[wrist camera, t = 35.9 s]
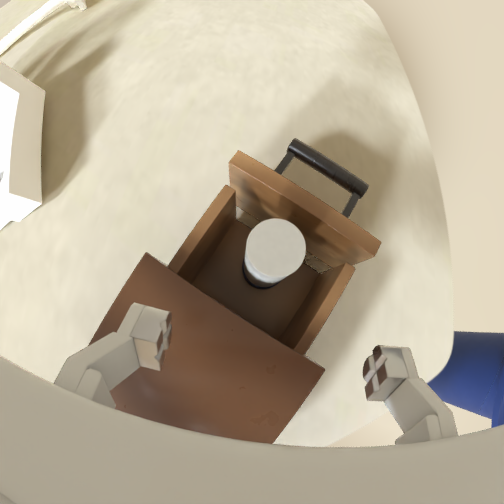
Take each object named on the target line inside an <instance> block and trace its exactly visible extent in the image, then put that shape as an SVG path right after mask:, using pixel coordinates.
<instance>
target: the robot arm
mask: <svg viewBox="0 0 504 504" xmlns="http://www.w3.org/2000/svg"><path fill="white" fill-rule="evenodd" d="M171 319H172V315H171V312H169V311H165V310H161V309H157V308H154V307H150V306H146V305H142V304H139V303H135V302H134V303H133V304H132V305H131V307H130V308H129V310H128V312H127V314H126V316H125V318H124V320H123V321H122V323H121V325H120V327H119V329H118V331H117V333H116V332H112V333H110V334H109V335H107V336H105V337H103V338H102V339H100V340H98V341H96V342H95V343H93V344H91V345H89V346H88V347H86V348H84V349H82V350H81V351H79V352H77V353H75V354H74V355H72V356H70V357H69V358H67V360H66V362H65V363H64V365H63V367H62V369H61V371H60V372H59V374H58V376H57V378H56V380H55V382H54V384H53V383H51V382H49V381H47V380H45V379H43V378H41V377H39V376H37V375H35V374H33V373H31V372H29V371H27V370H25V369H23V368H22V367H20V366H18V365H16V364H14V363H13V362H11V361H9V360H8V359H6V358H4V357H3V356H1V355H0V504H504V424H503V425H500V426H497V427H493V428H489V429H486V430H482V431H478V432H473V433H469V434H464V435H460V436H458V434H457V429H456V425H455V421H454V417H453V413H452V411H451V410H450V409H449V408H448V407H447V406H446V405H445V403H444V402H443V401H442V400H441V399H440V398H439V397H438V396H437V395H436V394H435V392H434V391H433V390H432V389H431V388H430V387H429V386H428V385H427V384H426V383H425V382H424V380H423V379H422V378H419V377H418V373H417V370H416V366H415V363H414V359H413V356H412V353H411V350H410V349H409V348H408V347H397V346H382V345H378V346H376V347H375V348H374V349H373V355H371V356H369V357H368V358H367V359H366V361H365V363H364V366H363V378H364V379H365V381H366V382H367V385H366V386H365V392H366V398H367V401H384V403H385V405H386V406H387V408H388V409H389V411H390V412H391V414H392V415H393V417H394V418H395V420H396V421H397V423H398V424H399V426H400V427H401V429H402V431H403V432H404V434H403V435H402V436H400V437H399V438H397V439H396V441H395V445H388V446H374V447H306V446H290V445H278V444H268V443H259V442H251V441H244V440H237V439H231V438H225V437H219V436H214V435H209V434H204V433H199V432H194V431H190V430H185V429H181V428H177V427H173V426H169V425H165V424H162V423H158V422H154V421H151V420H147V419H144V418H141V417H138V416H134V415H131V414H128V413H125V412H122V411H119V410H116V409H115V407H116V404H115V402H114V400H113V398H112V396H111V394H110V392H109V391H110V390H112V389H113V388H114V387H115V386H117V385H118V384H119V383H121V382H122V381H123V380H124V379H126V378H127V377H128V376H129V375H131V374H132V373H133V372H134V371H136V370H137V369H138V368H139V367H140V366H142V367H146V368H150V369H154V370H158V371H160V370H161V368H162V365H163V362H164V359H165V352H164V351H165V350H167V349H168V348H169V345H170V342H171V337H172V325H171V324H170V322H171Z"/></svg>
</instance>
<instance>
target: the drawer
mask: <svg viewBox="0 0 504 504" xmlns="http://www.w3.org/2000/svg"><path fill="white" fill-rule="evenodd" d="M294 157H295V158H297V159H298V160H300V161H302V162H303V163H305V164H307V165H308V166H310V167H311V168H313V169H315V170H316V171H318V172H319V173H321V174H323V175H324V176H326V177H327V178H329V179H330V180H332V181H333V182H335V183H336V184H338V185H339V186H341V187H342V188H344V189H345V190H347V191H348V192H350V193H351V194H352V195H351V196H350V198H349V200H348V202H347V203H346V205H345V207H344V209H343V211H342V212H341V213H339V212H338V211H336V210H335V209H333V208H332V207H330V206H329V205H327V204H326V203H324V202H323V201H321V200H320V199H318V198H317V197H315V196H314V195H312V194H310V193H309V192H307V191H306V190H304V189H303V188H301V187H299V186H298V185H296V184H295V183H293V182H291V181H290V180H288V179H287V178H285V177H283V176H282V174H283V173H284V171H285V170H286V169H287V167H288V166H289V164H290V163H291V162H292V160H293V159H294ZM229 178H230V187H229V186H228V185H225V186H224V187H223V189H222V190H221V191H220V193H219V194H218V196H217V197H216V198H215V200H214V201H213V202H212V204H211V205H210V206H209V208H208V209H207V211H206V212H205V213H204V215H203V216H202V217H201V219H200V220H199V222H198V223H197V224H196V226H195V227H194V229H193V230H192V232H191V233H190V234H189V236H188V237H187V239H186V240H185V241H184V243H183V244H182V246H181V247H180V249H179V250H178V252H177V253H176V255H175V256H174V257H173V259H172V260H171V262H170V263H169V265H168V266H167V267H168V268H170V269H171V270H173V271H174V272H175V273H177V274H178V275H180V276H181V277H182V278H184V279H185V280H187V281H188V282H190V283H191V284H193V285H194V286H195V287H197V288H198V289H200V290H201V291H203V292H204V293H206V294H207V295H209V296H210V297H212V298H213V299H215V300H216V301H218V302H219V303H221V304H222V305H224V306H225V307H227V308H228V309H230V310H231V311H233V312H234V313H236V314H237V315H239V316H240V317H242V318H243V319H245V320H247V321H248V322H250V323H251V324H253V325H254V326H256V327H258V328H259V329H261V330H262V331H264V332H265V333H267V334H269V335H270V336H272V337H273V338H275V339H277V340H278V341H280V342H282V343H283V344H285V345H286V346H288V347H290V348H291V349H293V350H295V351H296V352H298V353H300V354H301V355H303V356H304V355H305V353H306V352H307V350H308V349H309V347H310V346H311V344H312V342H313V341H314V339H315V338H316V336H317V335H318V333H319V331H320V330H321V328H322V326H323V325H324V323H325V321H326V320H327V318H328V316H329V315H330V313H331V311H332V310H333V308H334V306H335V305H336V303H337V301H338V299H339V298H340V296H341V294H342V292H343V291H344V289H345V287H346V285H347V284H348V282H349V280H350V278H351V276H352V275H353V273H354V271H355V268H354V267H353V266H352V265H355V264H357V263H360V262H362V261H365V260H367V259H370V258H372V257H374V256H375V255H376V253H377V251H378V249H379V246H380V244H381V241H379V240H378V239H377V238H375V237H374V236H372V235H371V234H370V233H368V232H367V231H365V230H364V229H363V228H361V227H360V226H358V225H357V224H355V223H354V222H352V221H351V220H350V219H348V218H349V216H350V214H351V212H352V210H353V208H354V207H355V205H356V203H357V201H358V199H361V198H362V197H363V195H364V194H365V193H366V191H367V189H368V187H369V185H368V184H367V183H365V182H364V181H362V180H361V179H359V178H358V177H356V176H355V175H354V174H352V173H351V172H349V171H348V170H346V169H345V168H343V167H342V166H340V165H338V164H337V163H335V162H334V161H332V160H331V159H329V158H328V157H326V156H324V155H323V154H321V153H320V152H318V151H316V150H315V149H313V148H311V147H310V146H308V145H306V144H305V143H303V142H301V141H300V140H298V139H296V138H294V139H293V140H292V142H291V143H290V145H289V146H288V148H287V154H286V155H285V157H284V158H283V160H282V161H281V162H280V164H279V165H278V167H277V168H276V169H275V171H273V170H272V169H270V168H268V167H267V166H265V165H263V164H262V163H260V162H258V161H257V160H255V159H253V158H251V157H250V156H248V155H246V154H244V153H243V152H241V151H239V150H238V151H237V153H236V154H235V155H234V156H233V158H232V159H231V160H230V162H229ZM236 206H237V207H239V208H241V209H242V210H244V211H245V212H247V213H249V214H250V215H252V216H253V217H255V218H256V219H258V220H260V221H261V222H262V221H265V220H268V219H273V218H276V219H283V220H286V221H289V222H290V223H292V224H293V225H295V226H296V227H297V228H298V229H299V230H300V232H301V233H302V235H303V237H304V240H305V244H306V251H308V252H309V253H311V254H312V255H314V256H315V257H317V258H318V259H320V260H321V261H323V262H324V263H326V264H327V265H329V266H330V267H332V269H330V270H328V271H325V272H323V273H321V274H320V273H318V272H317V271H315V270H314V269H312V268H311V267H309V266H308V265H306V264H305V263H303V262H302V264H301V265H300V267H299V268H298V269H297V270H296V271H295V272H293V273H292V274H290V275H289V276H287V277H286V278H284V279H282V280H281V281H280V282H279V283H278V284H277V285H275V286H274V287H272V288H269V289H257V288H254V287H252V286H251V285H249V284H248V283H247V281H246V280H245V278H244V276H243V273H242V264H243V260H244V257H245V251H246V244H247V239H248V236H249V234H250V232H251V231H252V229H251V228H249V227H247V226H246V225H244V224H243V223H241V222H240V221H238V220H236Z"/></svg>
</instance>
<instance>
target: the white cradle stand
mask: <svg viewBox="0 0 504 504" xmlns="http://www.w3.org/2000/svg"><path fill="white" fill-rule="evenodd" d="M45 92H46V91H45V90H43V89H42V88H40V87H39V86H37V85H36V84H34V83H33V82H31V81H30V80H28V79H27V78H25V77H24V76H23V75H21V74H20V73H18V72H17V71H15V70H14V69H12V68H11V67H9V66H8V65H6V64H5V63H3V62H2V61H0V230H1V229H2V228H3V227H4V226H5V225H6V224H7V223H9V222H10V221H11V220H13V221H18V222H20V221H21V220H22V219H23V218H25V217H26V216H27V215H28V214H29V213H31V212H32V211H33V210H34V209H36V208H37V207H38V206H39V205H41V204H42V191H41V140H42V122H43V110H44V101H45Z"/></svg>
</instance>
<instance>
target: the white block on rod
mask: <svg viewBox="0 0 504 504" xmlns="http://www.w3.org/2000/svg"><path fill="white" fill-rule="evenodd" d="M66 2H67V3H68V4H69V6H70V7H71V8H74V7H76V6H77V5H78V7H79V8H80V9H81V10H82V11H83V10H85V9H86V8H87V6H86V2H85V0H50V1H49V2H47V3H46V4H44V5H43V6H42V7H40V8H39V9H38V10H36V11H35V12H34V13H32V14H31V15H30V16H29V17H27V18H26V19H25V20H24V21H22V22H21V23H20V24H19V25H18V26H17V27H15V28H14V29H13V30H12V31H11V32H10V33H9V34H7V35H6V36H5V37H4V38H3V39H2V40H1V41H0V55H1V54H2V53H3V52H4V51H5V50H6V49H7V48H9V47H10V46H11V45H12V44H13V43H14V42H15V41H16V40H18V39H19V38H20V37H21V36H22V35H23V34H25V33H26V32H27V31H28V30H29V29H31V28H32V27H33V26H34V25H36V24H37V23H38V22H40V21H41V20H42V19H44V18H45V17H46V16H48V15H49V14H50V13H52V12H53V11H55V10H56V9H57V8H59V7H60V6H62V5H63V4H65V3H66Z"/></svg>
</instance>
